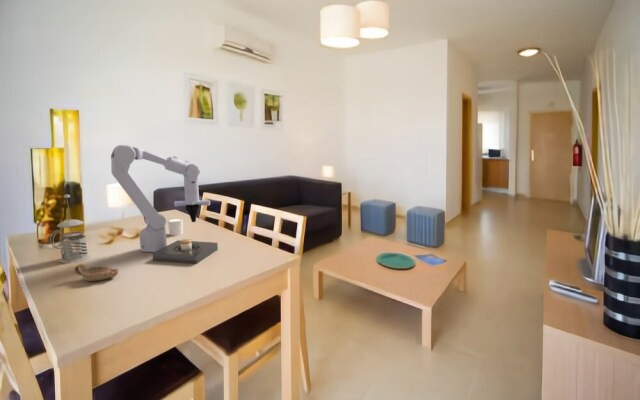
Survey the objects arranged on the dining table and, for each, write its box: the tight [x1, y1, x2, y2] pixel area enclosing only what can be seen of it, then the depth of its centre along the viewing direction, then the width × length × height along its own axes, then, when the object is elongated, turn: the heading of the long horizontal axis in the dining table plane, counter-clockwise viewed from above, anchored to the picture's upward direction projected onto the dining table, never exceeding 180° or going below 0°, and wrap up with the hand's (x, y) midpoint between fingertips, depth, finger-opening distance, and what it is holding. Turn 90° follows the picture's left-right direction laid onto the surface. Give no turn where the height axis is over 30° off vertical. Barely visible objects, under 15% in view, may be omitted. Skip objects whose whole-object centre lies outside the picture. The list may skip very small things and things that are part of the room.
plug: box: [179, 238, 192, 250], centre depth 125 cm, size 4×4×6 cm
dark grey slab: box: [151, 240, 219, 265], centre depth 125 cm, size 18×16×3 cm
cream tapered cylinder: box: [167, 218, 184, 237], centre depth 154 cm, size 7×7×7 cm
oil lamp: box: [73, 264, 119, 282], centre depth 103 cm, size 13×8×5 cm, turn 90°
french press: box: [49, 193, 92, 264], centre depth 118 cm, size 10×12×25 cm
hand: (193, 221), depth 141 cm, fingers closed
